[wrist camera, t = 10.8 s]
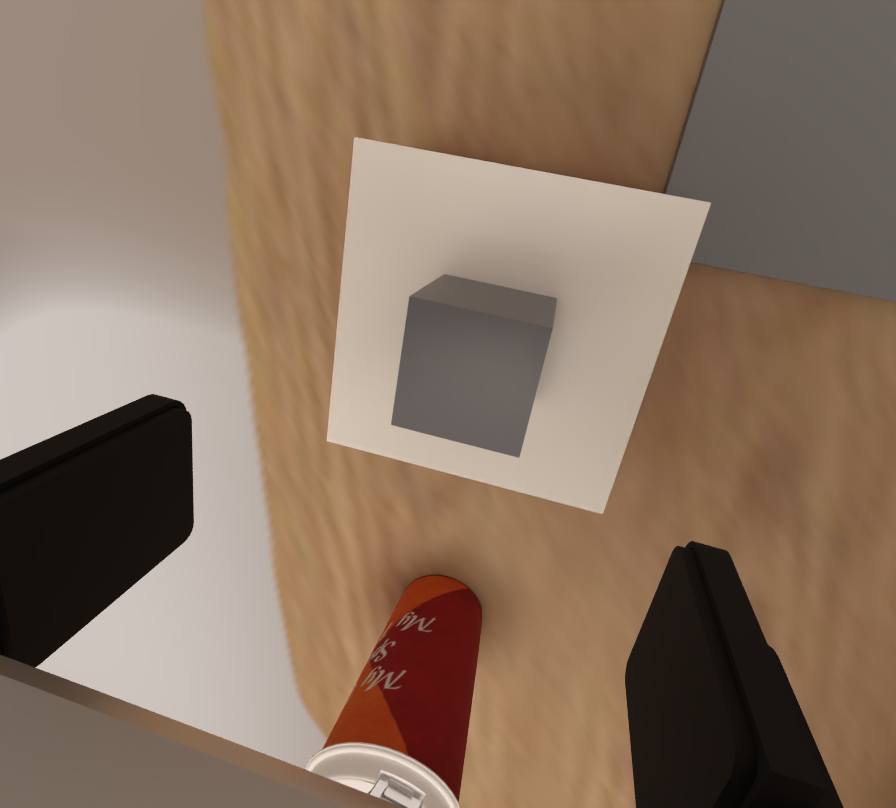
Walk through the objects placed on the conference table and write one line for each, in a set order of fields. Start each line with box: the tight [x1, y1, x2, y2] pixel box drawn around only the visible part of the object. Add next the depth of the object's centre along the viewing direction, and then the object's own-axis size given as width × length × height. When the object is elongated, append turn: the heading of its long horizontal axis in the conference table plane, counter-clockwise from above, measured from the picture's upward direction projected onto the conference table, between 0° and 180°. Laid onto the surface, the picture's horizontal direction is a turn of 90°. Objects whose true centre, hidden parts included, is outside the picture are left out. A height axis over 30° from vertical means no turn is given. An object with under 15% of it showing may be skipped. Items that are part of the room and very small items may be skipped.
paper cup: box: [305, 575, 482, 808], centre depth 30 cm, size 8×8×14 cm
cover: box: [327, 137, 711, 514], centre depth 20 cm, size 13×13×6 cm
